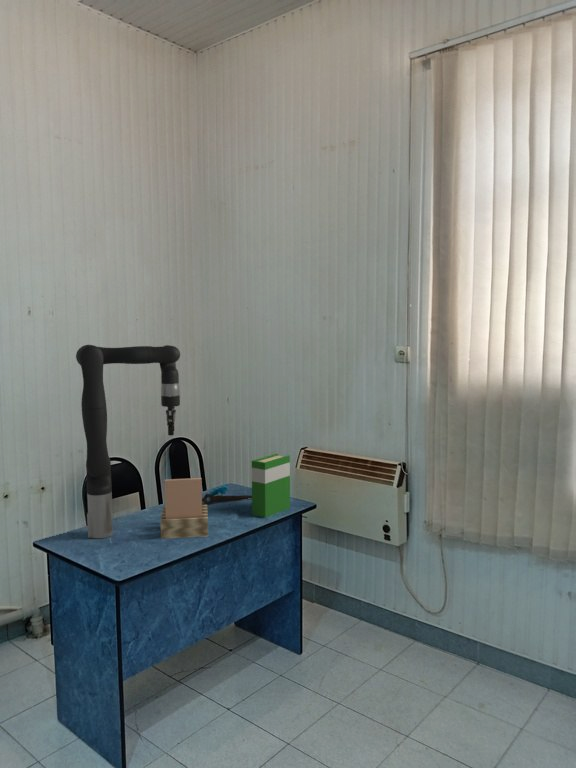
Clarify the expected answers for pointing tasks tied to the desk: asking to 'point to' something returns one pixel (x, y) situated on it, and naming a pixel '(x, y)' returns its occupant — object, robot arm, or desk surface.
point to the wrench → (223, 498)
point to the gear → (218, 491)
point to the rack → (184, 526)
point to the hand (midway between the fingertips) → (171, 433)
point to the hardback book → (270, 485)
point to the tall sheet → (183, 498)
